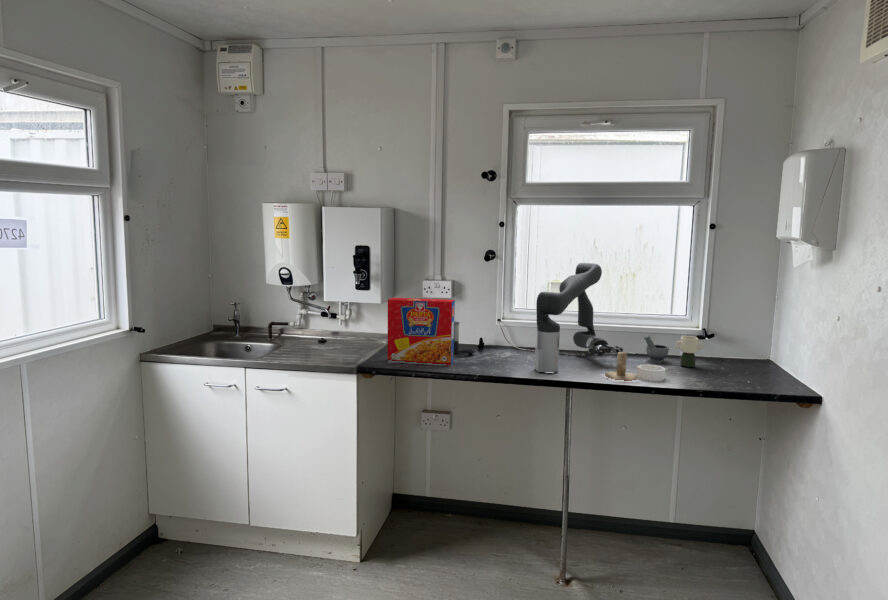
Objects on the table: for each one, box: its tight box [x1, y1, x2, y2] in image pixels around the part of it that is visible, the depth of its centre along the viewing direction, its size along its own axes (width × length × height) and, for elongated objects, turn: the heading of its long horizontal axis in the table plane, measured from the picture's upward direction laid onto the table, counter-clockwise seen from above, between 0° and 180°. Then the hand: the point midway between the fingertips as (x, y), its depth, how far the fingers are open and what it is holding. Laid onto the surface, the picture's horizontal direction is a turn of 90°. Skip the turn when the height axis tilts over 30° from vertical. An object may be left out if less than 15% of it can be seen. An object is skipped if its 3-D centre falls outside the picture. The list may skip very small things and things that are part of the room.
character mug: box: [675, 335, 703, 368], centre depth 247 cm, size 11×7×13 cm, turn 80°
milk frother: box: [454, 320, 476, 355], centre depth 265 cm, size 14×16×15 cm
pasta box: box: [387, 297, 456, 366], centre depth 246 cm, size 28×8×28 cm, turn 80°
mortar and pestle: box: [643, 334, 670, 364], centre depth 256 cm, size 11×9×12 cm
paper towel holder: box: [605, 351, 638, 381], centre depth 225 cm, size 12×12×10 cm
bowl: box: [636, 364, 666, 382], centre depth 226 cm, size 10×10×4 cm
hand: (611, 353), depth 236 cm, fingers open, 8 cm apart
